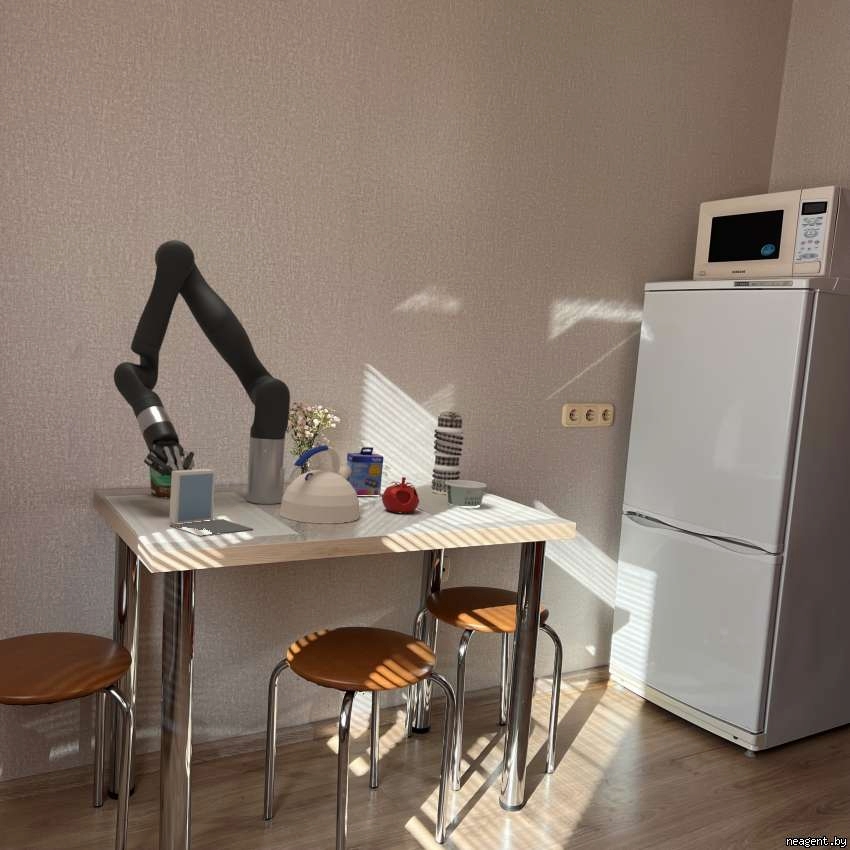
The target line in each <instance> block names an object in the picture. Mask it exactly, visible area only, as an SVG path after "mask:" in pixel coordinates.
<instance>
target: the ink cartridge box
mask: <svg viewBox="0 0 850 850" xmlns="http://www.w3.org/2000/svg"><path fill="white" fill-rule="evenodd" d="M364 450H365V451H364ZM368 450H369V451H368ZM373 452H374V447H372V446H370V447H369V446H365V447H364V446H363V447H361V449H360V452H347V455H346V465H347V466H349V467H350V468H351V471H352V472H351V474H349V476H348V477H347V479H346V480H347V481H348V482H349V483H350V484H351V485H352V487H353V488H354V490H355V491H356V494H357V495H380V496H381V491H382V490H381V489H382V478H383V467H384V458H385V457H384V456H383V455H382V454H378V453H373Z"/></svg>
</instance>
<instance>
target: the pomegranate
mask: <svg viewBox="0 0 850 850" xmlns="http://www.w3.org/2000/svg"><path fill="white" fill-rule="evenodd" d="M406 480H407V477H405V476H403V477H401V482H400V481H391V482H390V484H392V485H389V486H387V487H386V488H385V490H384V492H383V494H382V495H381V501H382V504H383V506H384V508H385V509H386V510H387V511H389V512H391V511H393V513H395V512H401V513H400V514H407V513H406V512H412V513H413V511H414V512H415V511H416V510H417V507H418V506H419V504H420V501H419V500H420V498H419V494H418V493H417V490H416V487H415V485H413V484H412V482H406ZM393 483H394V484H393Z"/></svg>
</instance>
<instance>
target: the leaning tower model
mask: <svg viewBox="0 0 850 850" xmlns="http://www.w3.org/2000/svg"><path fill="white" fill-rule="evenodd" d="M437 418H438V420H437V426H436V429H434V430H433V431H434V435H433V437H434V438H435V440H434V441H433V443H434V445H433V449H434V450H435V451H434V452H433V455H434V457H435V459H434V464H433V469H432V472H433V474H431V475H432V476H431V477H432V478H433V479H432V480H431V490H436V491H440V492H441V491H442V492H447V484H446V483H445V482H446V481H449V480H460V476H459V475H460V474H461V472H460V458H461V457H462V455H463V454H462V453H461V452H462V451H463V448H462V447H460V446H462V445H464V442H463V440H464V439H465V438H464V437H463V436H462V434H463V427H462V426H463V420H464V418H463V417H462V414H461V413H459V412H455V411H442V412H440V414H439V415H438V416H437Z"/></svg>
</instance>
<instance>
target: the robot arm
mask: <svg viewBox="0 0 850 850" xmlns="http://www.w3.org/2000/svg"><path fill="white" fill-rule="evenodd" d="M156 249H157V250H155V254H154V261H155V265H156V271H155V276H154V281H153V285H152V288H151V291H150V294H149V297H148V300H147V301H146V304H145V307H144V309H143V310H142V313H141V316H140V318H139V321H138V323H137V326H136V329H135V332H134V335H133V339H132V341H131V346H130V349H131V351H132V352H133V353H134V354H135V355H137V356H139V364H137V363H135V362H133V363H132V362H129V361H128V362H126V361H125V362H121V363H119V364H118V365H117V366H116V367H115V370H114V372H113V381H114V385H115V387H116V389H117V390H118V392H119V393H120V395H121V396H122V397H123V399H124V400H125V401H126V402H127V403H128V405H129V406H130V407H131V409H132V411H133V414H134V416H135V418H136V420H137V423H138V428H139V430H140V433H141V435H142V438H143V439H144V443H145V445H146V447H147V449H148V451H149V453H148V454H147V456H145V458H144V460H143V462H144V464H146V466H147V465H149V466H148V467H149V468H150V467H151V468H153V469H154V470H156V471H157V472H158V473H160V474H161V475H163V476H165V475H168V476H169V477H172V471H179V470H188V469H189V467H190V464H191V462H192V459H193V460H194V456H195V453H194V452H193V451H190V452H187V451H185V450H184V447H183V446H182V445H181V444H180V440H179V438H180V437H179V436H178V434H177V431H176V429H175V427H174V424H173V423H172V422H173V421H172V420H171V418H170V416H169V414H168V412H167V410H166V409H165V406H164V404H163V402H162V399H161V398H160V396H159V395H158V394H157V392H156V391H154V388H155V387H156V385H157V383H158V377H159V364H160V363H159V361H160V352H161V348H162V345H163V343H164V341H165V337H166V333H167V330H168V326H169V323H170V320H171V316H172V313H173V310H174V307H175V304H176V303H177V302H176V301H177V299H178V296H179V295H180V296H181V297H182V299H183V300H184V302H185V303H186V305H187V307H188V308H189V311H190V313H191V314H192V316H193V318H194V319H195V321H196V323H197V324H198V325H199V327H200V329H201V331H202V332H203V334H204V336H206V339H208V341H209V342H210V344H211V345H212V346H213V348H214V349H215V350H216V352H217V353H218V354H219V355H220V357H221V358H222V359H223V361H225V363H226V364H227V365H228V366H229V368H230V369H231V370H232V371H233V372H234V374H235V375H236V376H237V378H238V380H239V382H240V383H241V385H242V386H243V389H244V391H245V392H246V394H247V396H248V398H249V399H250V401H251V403H252V404H253V406H254V416H253V422H252V425H251V426H250V430H249V431H250V432H249V448H248V464H247V466H248V467H247V481H246V483H247V484H246V501H247V502H249V503H251V504H252V503H253V504H259V505H260V504H263V505H266V504H267V505H273V504H281V503H282V497H283V495H284V483H285V482H284V481H285V467H284V463H285V461H284V458H285V444H286V443H285V441H286V440H285V439H286V433H287V430H288V426H289V419H290V407H291V393H290V389H289V387H288V385H287V384H286V383H285V382H284V381H282V380H281V379H279V378H276V377H275V378H274V376H273V375H272V374H271V373H270V372H269V371H268V370H267V368H266V367H265V366H264V365H263V363H262V362H261V360H260V359H259V357H258V356H257V354H256V352H255V350H254V347H253V345H252V341H251V339H250V337H249V335H248V332H247V331H246V329H245V327H244V326H243V325H242V322H240V320H239V319H238V316H237V315H236V314H235V313H234V311H233V310H232V309H231V308H230V306H229V305H228V304H227V303H226V301H224V299H223V298H221V296H220V295H219V294H218V293H217V292H216V291H215V290H214V289H213V288H212V287H211V286H210V284H209V283H208V282H207V281H206V279H205V277H204V275H203V274H202V272H201V271H200V269H199V268H198V266H197V264H196V262H195V259H196V258H195V253H194V251H193V250H192V248H191V247H190V246H189V244H188V243H186V242H184V241H181V240H177V239H176V240H175V239H174V240H168V241H166V242H164V243H161V244H160V245H159V247H157V248H156ZM182 461H184V464H183V466H182ZM159 466H160V467H162V468H163V469H161V468H160V467H159Z"/></svg>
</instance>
